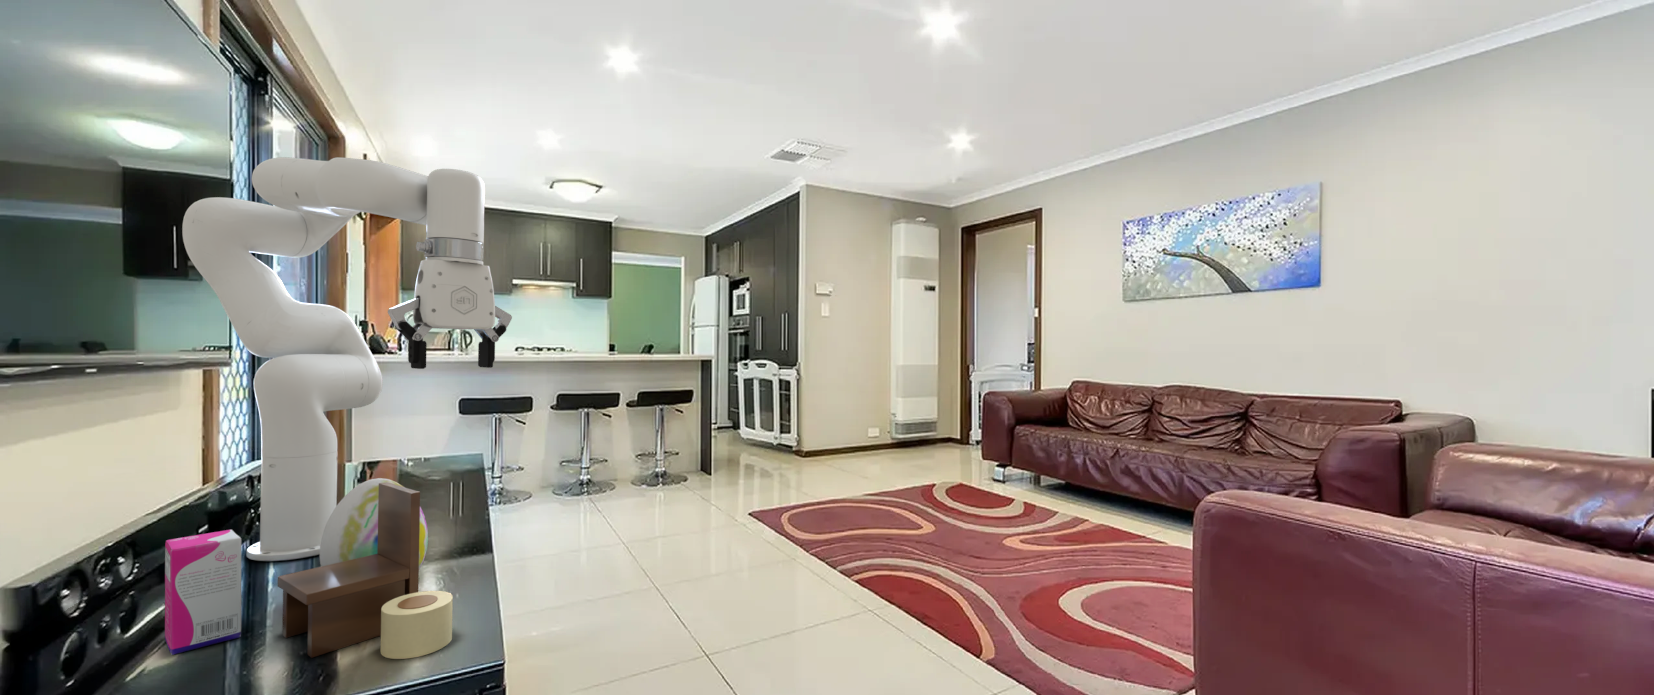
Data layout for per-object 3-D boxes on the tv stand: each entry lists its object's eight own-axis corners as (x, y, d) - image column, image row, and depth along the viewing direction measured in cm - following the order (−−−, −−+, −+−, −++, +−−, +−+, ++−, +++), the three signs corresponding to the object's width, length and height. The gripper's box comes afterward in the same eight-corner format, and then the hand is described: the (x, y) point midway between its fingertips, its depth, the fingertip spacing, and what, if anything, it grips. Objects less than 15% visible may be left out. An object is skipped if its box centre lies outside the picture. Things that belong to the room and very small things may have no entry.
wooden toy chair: (276, 637, 73) (278, 498, 73) (385, 605, 82) (387, 482, 82) (305, 660, 68) (308, 510, 68) (417, 623, 77) (420, 492, 77)
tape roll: (397, 665, 67) (398, 619, 67) (369, 647, 71) (370, 604, 71) (463, 641, 73) (464, 598, 73) (434, 626, 77) (435, 585, 77)
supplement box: (232, 622, 76) (234, 527, 76) (241, 637, 73) (243, 537, 73) (163, 639, 72) (164, 538, 72) (169, 656, 68) (170, 549, 68)
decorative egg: (361, 610, 80) (363, 492, 80) (296, 596, 84) (298, 483, 84) (447, 577, 92) (449, 474, 92) (386, 566, 96) (388, 467, 96)
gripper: (402, 244, 86) (400, 370, 86) (524, 259, 101) (522, 367, 101) (378, 248, 91) (376, 368, 91) (498, 262, 105) (496, 366, 105)
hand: (453, 367), depth 96 cm, fingers open, 9 cm apart
